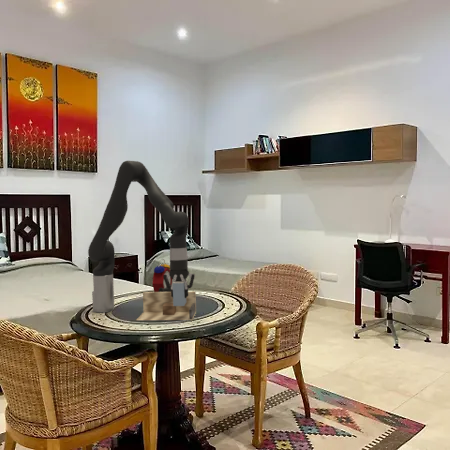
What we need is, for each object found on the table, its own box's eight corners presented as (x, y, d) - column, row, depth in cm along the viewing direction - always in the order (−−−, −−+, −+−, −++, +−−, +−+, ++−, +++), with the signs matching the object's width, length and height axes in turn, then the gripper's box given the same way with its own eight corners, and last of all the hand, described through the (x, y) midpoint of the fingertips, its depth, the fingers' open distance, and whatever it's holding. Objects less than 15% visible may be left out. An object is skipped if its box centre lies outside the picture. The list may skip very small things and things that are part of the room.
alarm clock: (163, 297, 240) (162, 260, 239) (148, 296, 242) (147, 260, 241) (173, 291, 254) (171, 256, 253) (158, 291, 256) (157, 256, 255)
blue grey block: (173, 306, 189) (172, 282, 188) (176, 302, 196) (175, 279, 195) (184, 306, 188) (183, 282, 188) (186, 302, 195) (185, 279, 195)
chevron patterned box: (135, 322, 190) (134, 299, 190) (144, 313, 205) (143, 292, 204) (191, 322, 189) (191, 298, 188) (196, 313, 204) (195, 291, 203)
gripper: (160, 259, 188) (161, 300, 189) (194, 259, 187) (195, 299, 188) (163, 257, 195) (165, 296, 196) (196, 256, 194) (197, 295, 195)
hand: (179, 297), depth 192 cm, fingers closed on blue grey block, 4 cm apart
